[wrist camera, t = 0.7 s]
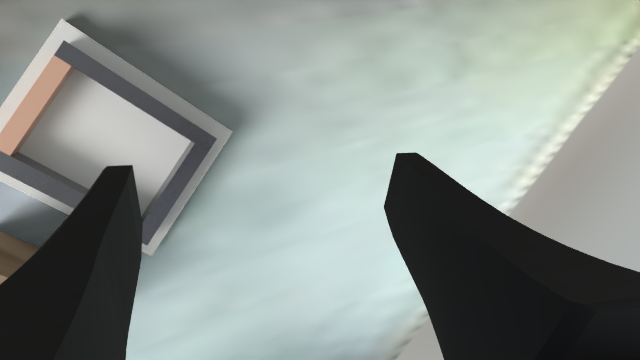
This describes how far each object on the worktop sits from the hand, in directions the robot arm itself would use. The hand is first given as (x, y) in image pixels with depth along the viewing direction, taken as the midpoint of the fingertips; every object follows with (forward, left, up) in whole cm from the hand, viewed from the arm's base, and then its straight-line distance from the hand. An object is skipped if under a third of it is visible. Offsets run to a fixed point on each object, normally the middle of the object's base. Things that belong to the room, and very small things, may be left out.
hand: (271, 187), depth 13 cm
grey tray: (-3, +4, -21) cm, 22 cm away
